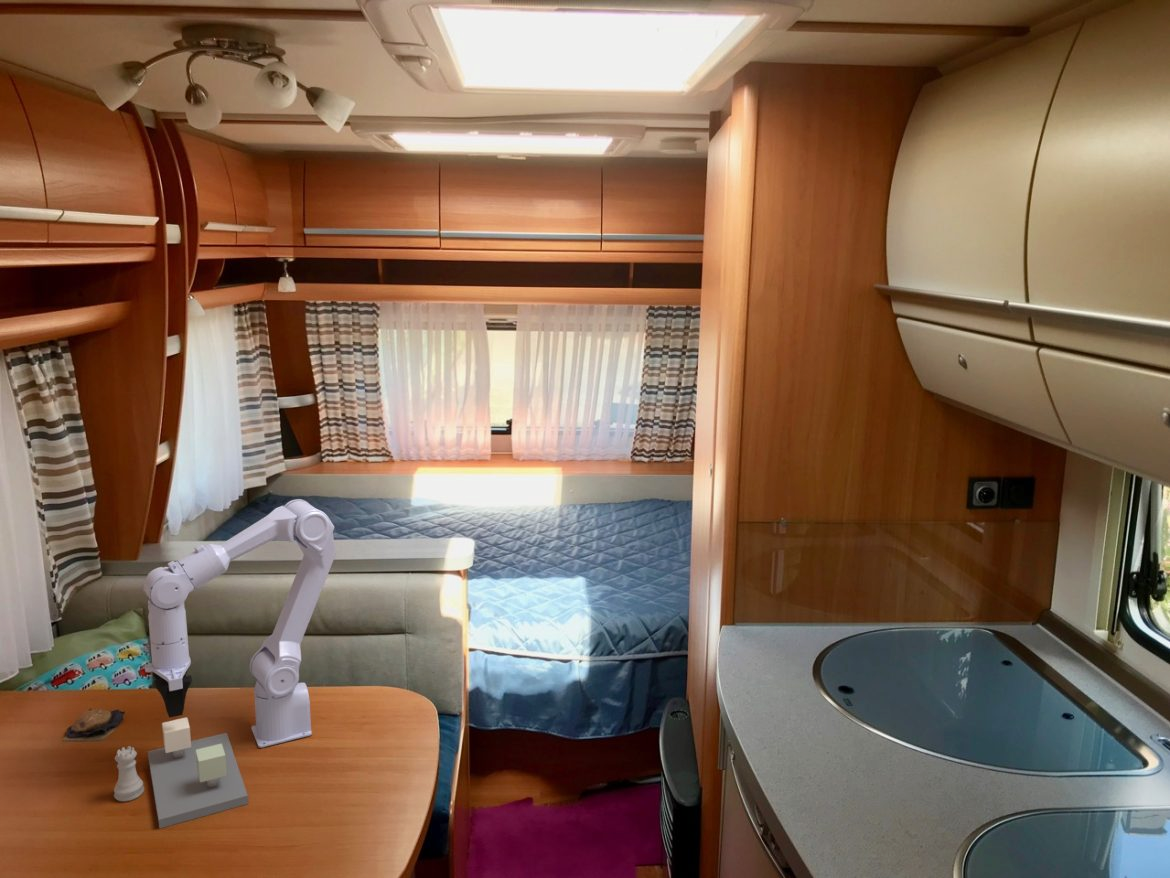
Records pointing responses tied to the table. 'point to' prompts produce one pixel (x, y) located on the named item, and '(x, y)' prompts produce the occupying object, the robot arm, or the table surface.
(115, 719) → the abalone
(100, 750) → the table surface
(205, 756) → the pale green cube
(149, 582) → the robot arm
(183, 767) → the panel
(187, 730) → the cream matte cube
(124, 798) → the rook chess piece
